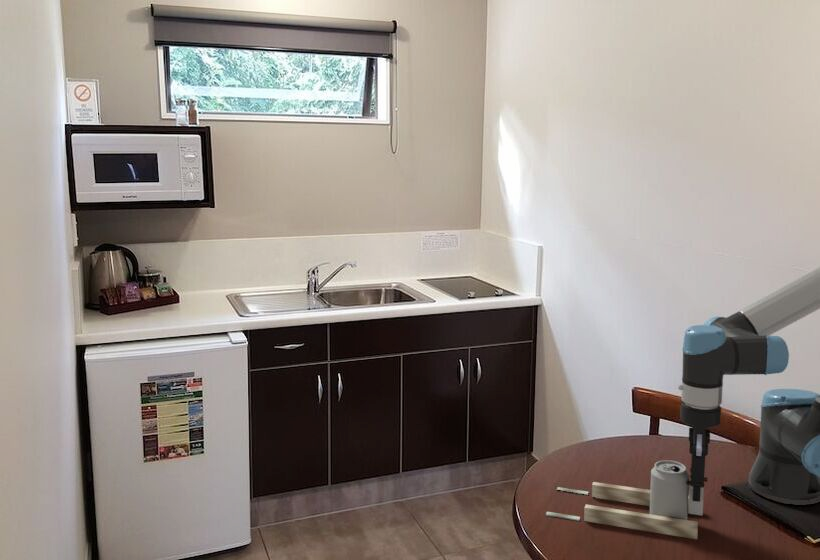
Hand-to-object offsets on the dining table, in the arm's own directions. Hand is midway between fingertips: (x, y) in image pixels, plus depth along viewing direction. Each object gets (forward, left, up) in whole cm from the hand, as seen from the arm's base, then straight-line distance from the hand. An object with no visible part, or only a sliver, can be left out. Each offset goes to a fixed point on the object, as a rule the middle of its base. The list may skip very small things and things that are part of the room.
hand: (695, 512), depth 149 cm
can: (+5, 0, -3) cm, 6 cm away
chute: (+14, 0, -3) cm, 15 cm away
